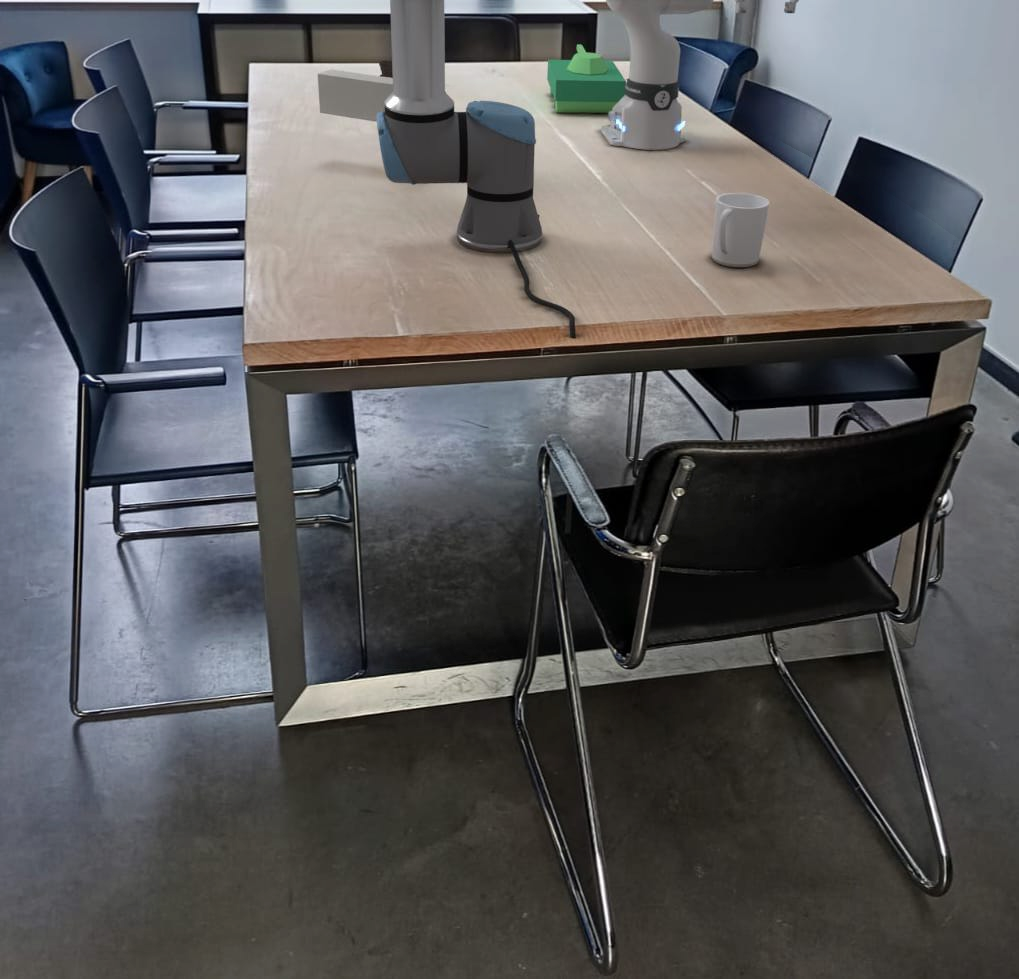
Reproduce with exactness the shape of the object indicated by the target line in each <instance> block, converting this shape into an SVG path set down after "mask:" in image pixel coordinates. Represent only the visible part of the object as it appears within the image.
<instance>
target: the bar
mask: <svg viewBox="0 0 1019 979" xmlns="http://www.w3.org/2000/svg"><path fill="white" fill-rule="evenodd" d="M317 88H318V102H319V103H318V104H319V113H320V114H325V115H332V116H337V117H344V118H350V119H357V120H362V121H363V120H364V121H368V122H369V121H370V122H375V123H377V119H376V115H377V113H379V112H381V111H384V112H385V105H384V102H385V100H386V99H387V98H388V97H389V96H390V95H391V94H392V92H393V78H389V77H381V76H380V75H374V74H367V73H359V72H354V71H353V72H352V71H346V70H345V71H344V70H338V69H328V70H325V71H322V72H319V73H317Z"/></svg>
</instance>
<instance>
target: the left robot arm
mask: <svg viewBox="0 0 1019 979" xmlns="http://www.w3.org/2000/svg"><path fill="white" fill-rule="evenodd" d="M389 5H390V6H389V8H390V9H389V10H390V11H389V12H390V33H391V34H390V37H391V38H390V40H391V61H392V70H393V92H392V94H391V95H390V96H389V97H388V98H387V99H386V100H385V102H384V105H385V112H384V111H381V112H379V113H377V115H376V119H377V122H376V127H377V134H378V141H379V149H380V155H381V160H382V166H383V169H384V173H385V175H386V178H387V179H388V180H389V181H390V182H392V183H395V184H409V185H410V184H411V185H418V184H419V185H421V184H423V185H424V184H428V185H429V184H466V192H467V193H466V198H465V202H464V205H463V209H462V211H461V214H460V218H459V220H458V224H457V228H456V241H457V243H458V244H459V245H461V246H462V247H464V248H466V249H468V250H470V251H475V252H479V253H486V254H497V255H499V254H500V255H506V254H507V255H508V254H512V257H513V259H514V261H515V263H516V266H517V267H518V270H519V272H520V274H521V276H522V279H523V290H524V293H525V295H526V296H527V297H528V299H529V300H531V301H532V302H534V303H535V304H538V305H540V306H543V307H546V308H549V309H551V310H553V311H556V312H559V313H561V314H563V315H564V316H565V317H566V318H568V320H569V321H568V323H569V324H568V325H569V326H568V327H569V338H570V339H573V340H574V339H577V333H576V317H575V315H574V314H573V313H572V312H571V311H570V310H568V309H567V308H566V307H564V306H562V305H559V304H556V303H553V302H551V301H548V300H545V299H542V298H540V297H538V296H536V295H535V294H534V293H532V291H531V289H530V277H529V276H528V272H527V270H526V268H525V266H524V265H523V262H522V260H521V258H520V255H519V253H524V252H527V251H530V250H533V249H536V248H538V247H539V246H540V245H541V244H542V243H543V229H542V224H541V221H540V220H541V219H540V214H538V213H539V212H538V210H537V206H536V204H535V199H534V184H535V181H534V180H535V148H536V147H535V145H536V144H537V139H536V123H535V118H534V116H533V115H532V113H530V112H529V111H528V110H526V109H525V108H522V107H519V106H517V105H513V104H509V103H504V102H499V101H493V100H473V101H469V103H468V104H467V106H466V108H465V111H455V101H454V99H452V98H451V97H450V95H449V94H447V92H446V51H445V50H446V48H445V46H446V45H445V44H446V43H445V42H446V40H445V38H446V36H445V33H446V32H445V26H446V24H445V0H389ZM572 511H573V499H572V500H571V498H570V496H569V494H568V492H567V494H566V508H565V524H564V525H565V526H564V534H565V533H567V534H568V533H570V534H571V527H572V513H573V512H572ZM569 560H570V557H569V558H568V555H567V554H566V553H565V552H564V551H563V561H564V562H568V561H569Z"/></svg>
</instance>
